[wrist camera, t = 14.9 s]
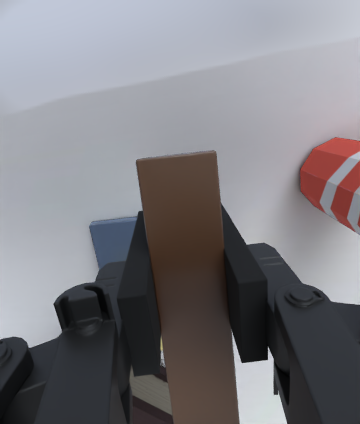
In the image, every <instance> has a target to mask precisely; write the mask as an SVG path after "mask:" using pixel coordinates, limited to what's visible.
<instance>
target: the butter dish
mask: <svg viewBox="0 0 360 424" xmlns="http://www.w3.org/2000/svg"><path fill="white" fill-rule="evenodd" d="M136 220H137V217H129V218H121V219H112V220H104V221H95V222H91V224H90V225H89V227H90V232H91V236H92V240H93V244H94V249H95V253H96V257H97V262H98V266H99V270H101V269H102V268H103V267H104V266H105V265H106V264H107V263H111V262H119V261H126V259H127V255H128V251H129V247H130V243H131V240H132V236H133V232H134V228H135V224H136Z"/></svg>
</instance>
